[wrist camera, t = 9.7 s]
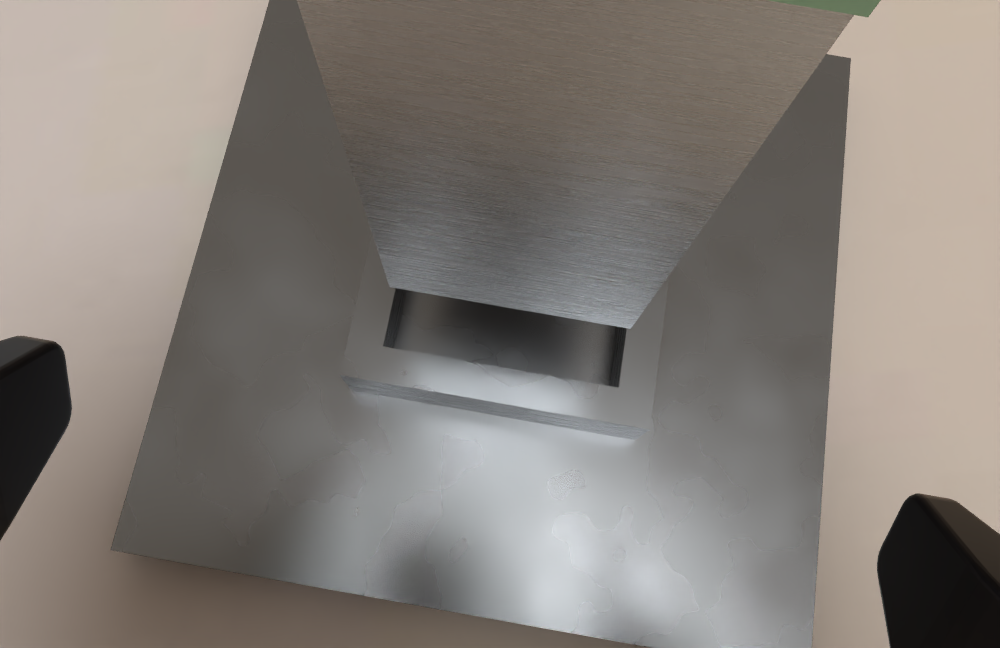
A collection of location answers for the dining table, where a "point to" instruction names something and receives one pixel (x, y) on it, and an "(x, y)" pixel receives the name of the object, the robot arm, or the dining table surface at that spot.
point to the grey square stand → (499, 401)
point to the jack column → (556, 134)
